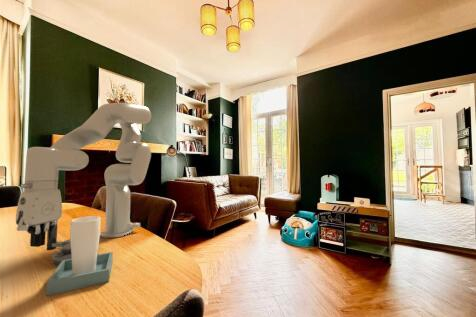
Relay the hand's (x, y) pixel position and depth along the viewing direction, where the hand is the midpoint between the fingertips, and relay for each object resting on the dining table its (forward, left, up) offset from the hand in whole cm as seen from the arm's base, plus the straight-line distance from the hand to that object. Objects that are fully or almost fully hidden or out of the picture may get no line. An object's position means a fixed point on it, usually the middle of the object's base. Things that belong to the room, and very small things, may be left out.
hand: (37, 245), depth 62 cm
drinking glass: (-14, +15, -5) cm, 21 cm away
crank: (-6, -2, -3) cm, 7 cm away
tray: (-14, +15, -6) cm, 21 cm away
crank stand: (-8, -4, -6) cm, 10 cm away
